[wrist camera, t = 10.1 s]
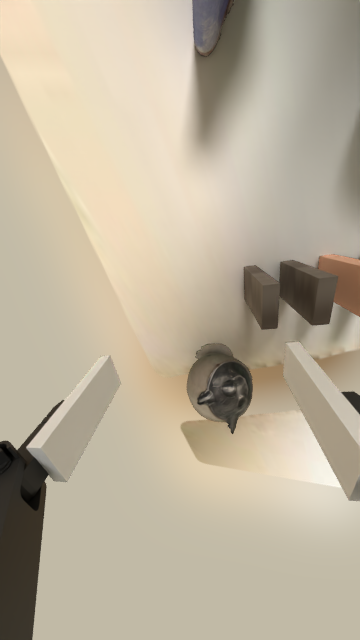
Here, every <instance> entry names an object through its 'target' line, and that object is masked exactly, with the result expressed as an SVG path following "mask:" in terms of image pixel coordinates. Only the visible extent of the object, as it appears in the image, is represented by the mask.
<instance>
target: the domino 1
mask: <svg viewBox="0 0 360 640" xmlns="http://www.w3.org/2000/svg"><path fill="white" fill-rule="evenodd" d="M244 290H245V300H246V302H247V304H248V306H249V308H250V309H251V311H252V313H253V315H254V317H255V318H256V320H257V322H258V324H259V325H260V327H261V329H262V330H263V329H275V328H277V327H278V310H279V294H280V283H279V282H278V281H276V280H275V279H274V278H272V277H271V276H269V275H268V274H267V273H265V272H264V271H263V270H261V269H260V268H258V267H257V266H256V265H254V266H247V267H244Z"/></svg>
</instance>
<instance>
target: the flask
mask: <svg viewBox="0 0 360 640" xmlns="http://www.w3.org/2000/svg"><path fill="white" fill-rule="evenodd" d="M192 1H193V28H194V31H193V33H194V43H195V47H196V49H197V51H198V53H200V54H201V55H204V56H206V57H207V56H208V55H209V54H210V53H211V52H212V51H213V49H214V48H215V46H216V44H217V42H218V40H219V39H220V36H221V33H220V32H221V28H222V25H223V23H224V21H225V18H226V16H227V14H228V13H229V11H230V9H231V6H232V5H233V2H234V0H192Z"/></svg>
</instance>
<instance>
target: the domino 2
mask: <svg viewBox="0 0 360 640" xmlns="http://www.w3.org/2000/svg"><path fill="white" fill-rule="evenodd" d="M337 281H338V276H336V275H333V274H331V273H328V272H325V271H322V270H319V269H317V268H314V267H311V266H308V265H305V264H303V263H300V262H297V261H294V260H290V261H283V262H281V265H280V282H279V283H280V294H279V296H280V297H281V298H282V299H283V300H285V301H286V302H287V303H288V304H289V305H290V306H291V307H292V308H293V309H294V310H296V311H297V312H298V313H299V314H300V315H301V316H302V317H303V318H304V319H306V320H307V321H308V322H309V323H310V324H311V325H324V324H329V323H330V317H331V312H332V307H333V302H334V297H335V291H336V286H337Z"/></svg>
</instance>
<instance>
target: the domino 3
mask: <svg viewBox="0 0 360 640" xmlns="http://www.w3.org/2000/svg"><path fill="white" fill-rule="evenodd" d="M318 269H319V270H322V271H325V272H328V273H331V274H333V275H336V276H338V281H337V286H336V291H335V297H334V302H335V303H336V304H338V305H340V306H342V307H343V308H345V309H347V310H349V311H350V312H352V313H354V314H356V315H357V316H359V317H360V260H359V259H354V258H349V257H344V256H339V255H334V254H331V255H324V256H320V258H319V265H318Z"/></svg>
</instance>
